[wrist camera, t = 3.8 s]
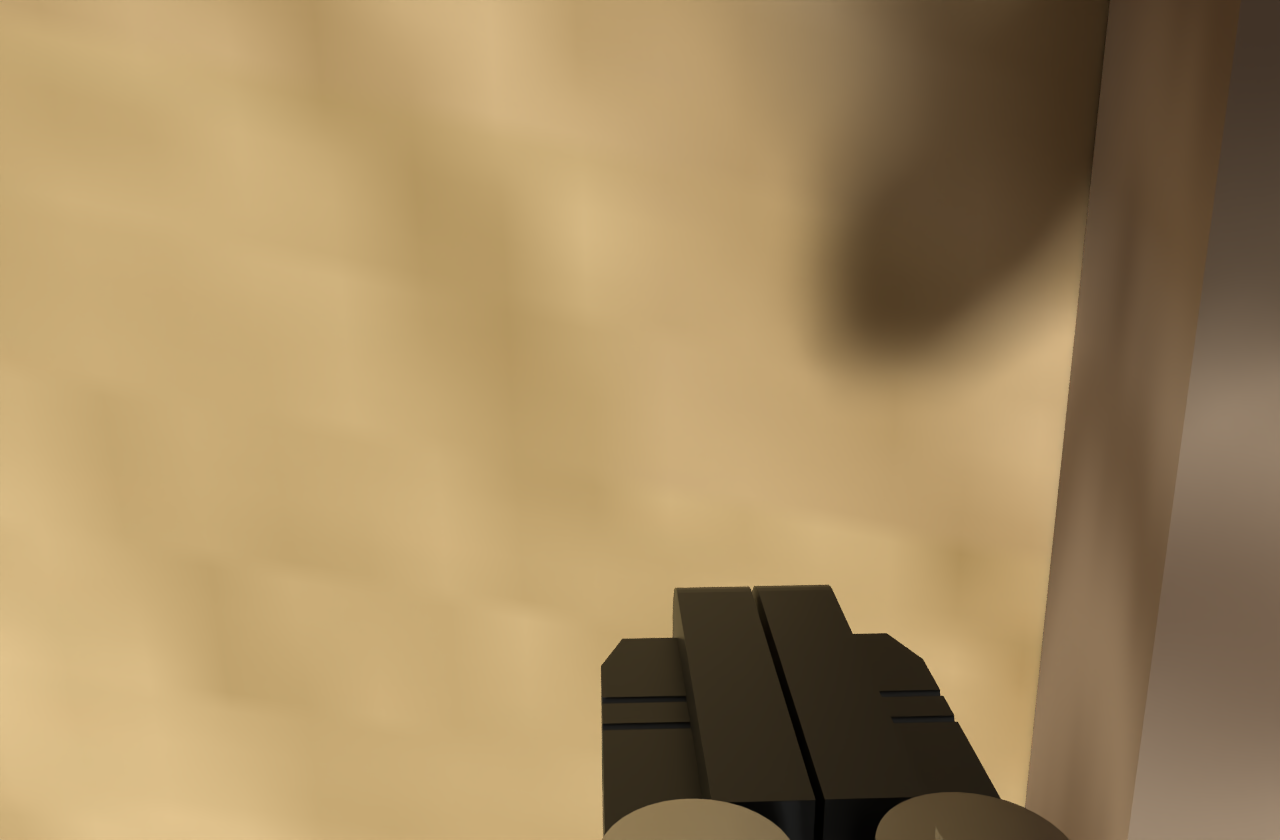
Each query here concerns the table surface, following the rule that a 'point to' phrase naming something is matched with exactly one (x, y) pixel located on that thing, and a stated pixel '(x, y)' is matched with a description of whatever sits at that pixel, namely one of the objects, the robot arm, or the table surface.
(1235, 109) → the deck
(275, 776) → the table surface
